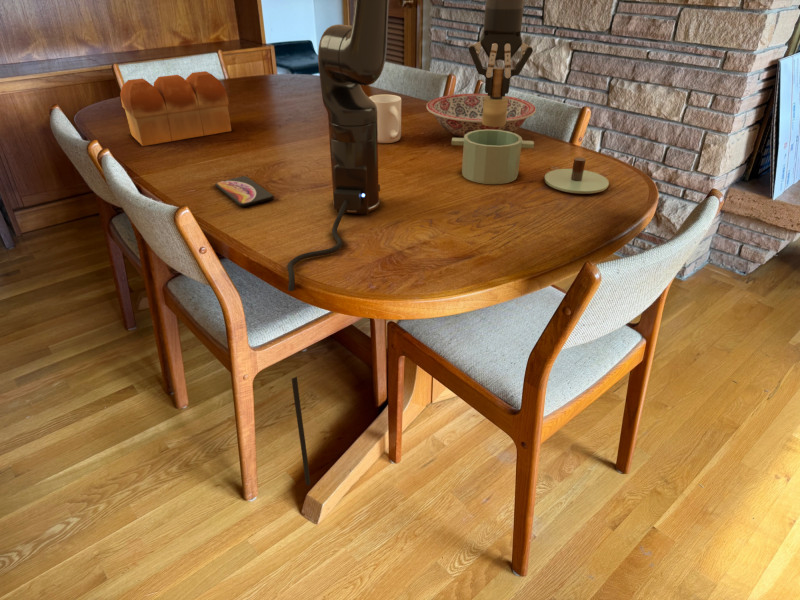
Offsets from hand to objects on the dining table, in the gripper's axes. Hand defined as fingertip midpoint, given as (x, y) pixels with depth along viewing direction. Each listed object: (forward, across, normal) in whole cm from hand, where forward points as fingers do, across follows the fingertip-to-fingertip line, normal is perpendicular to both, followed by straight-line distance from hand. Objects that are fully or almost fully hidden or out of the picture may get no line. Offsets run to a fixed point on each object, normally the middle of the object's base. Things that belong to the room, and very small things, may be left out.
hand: (496, 95), depth 122 cm
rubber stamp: (+6, 0, 0) cm, 6 cm away
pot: (+18, 0, 0) cm, 18 cm away
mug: (+18, -27, +22) cm, 39 cm away
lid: (+17, +19, -4) cm, 26 cm away
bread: (+18, -85, +21) cm, 89 cm away
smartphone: (+18, -52, -19) cm, 58 cm away
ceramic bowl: (+18, -3, +30) cm, 35 cm away
